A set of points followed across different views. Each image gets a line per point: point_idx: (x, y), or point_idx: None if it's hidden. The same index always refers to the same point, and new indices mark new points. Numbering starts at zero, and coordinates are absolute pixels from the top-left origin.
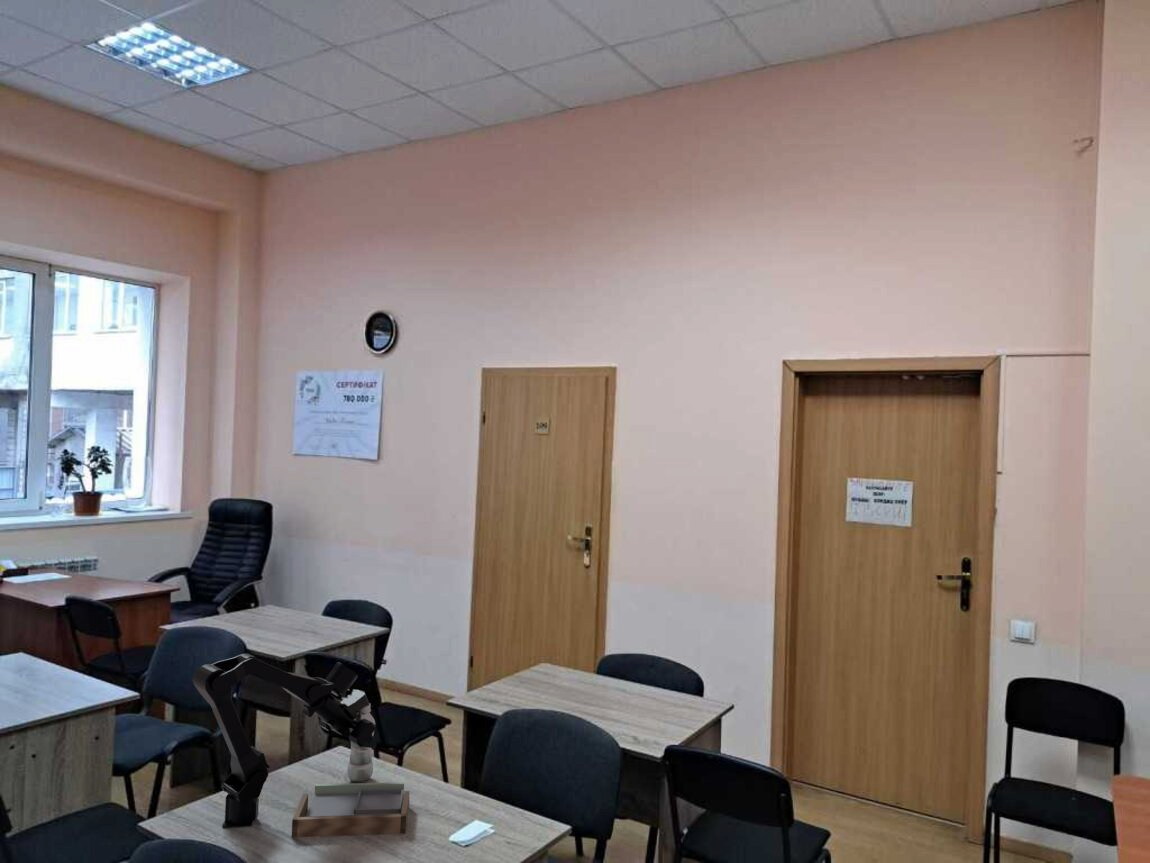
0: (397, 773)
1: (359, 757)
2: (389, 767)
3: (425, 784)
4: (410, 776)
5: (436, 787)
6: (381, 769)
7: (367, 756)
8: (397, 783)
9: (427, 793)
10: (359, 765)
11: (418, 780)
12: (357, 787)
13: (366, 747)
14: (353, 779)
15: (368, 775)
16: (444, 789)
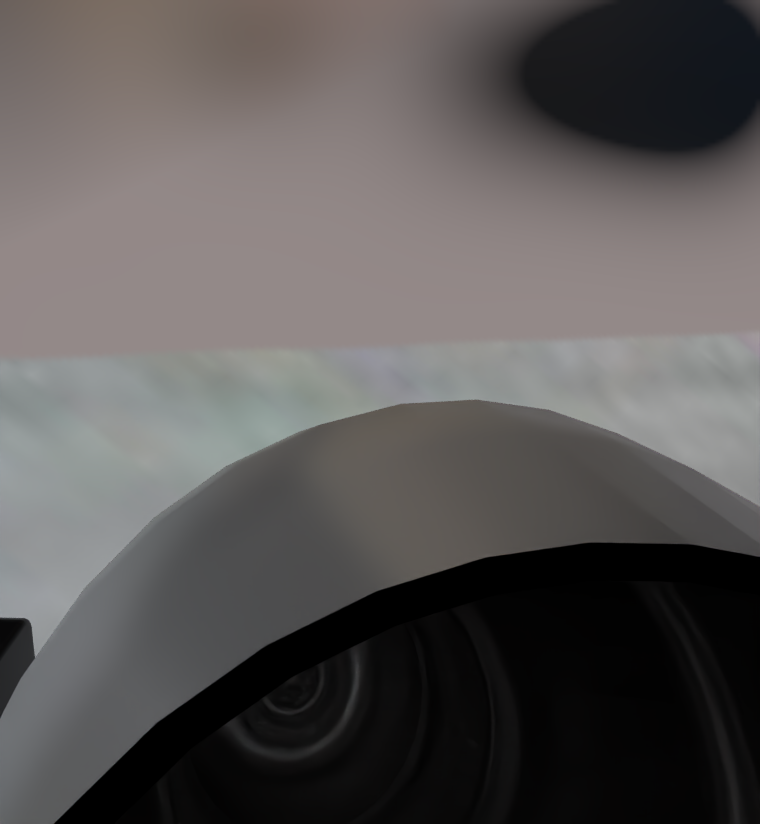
0: (403, 397)
1: (415, 811)
2: (280, 366)
3: (647, 395)
4: (499, 375)
5: (712, 382)
6: (263, 426)
7: (449, 695)
8: None
9: (753, 470)
10: (396, 782)
11: (577, 383)
12: None
13: (493, 738)
14: (331, 793)
15: (406, 664)
16: (754, 372)
